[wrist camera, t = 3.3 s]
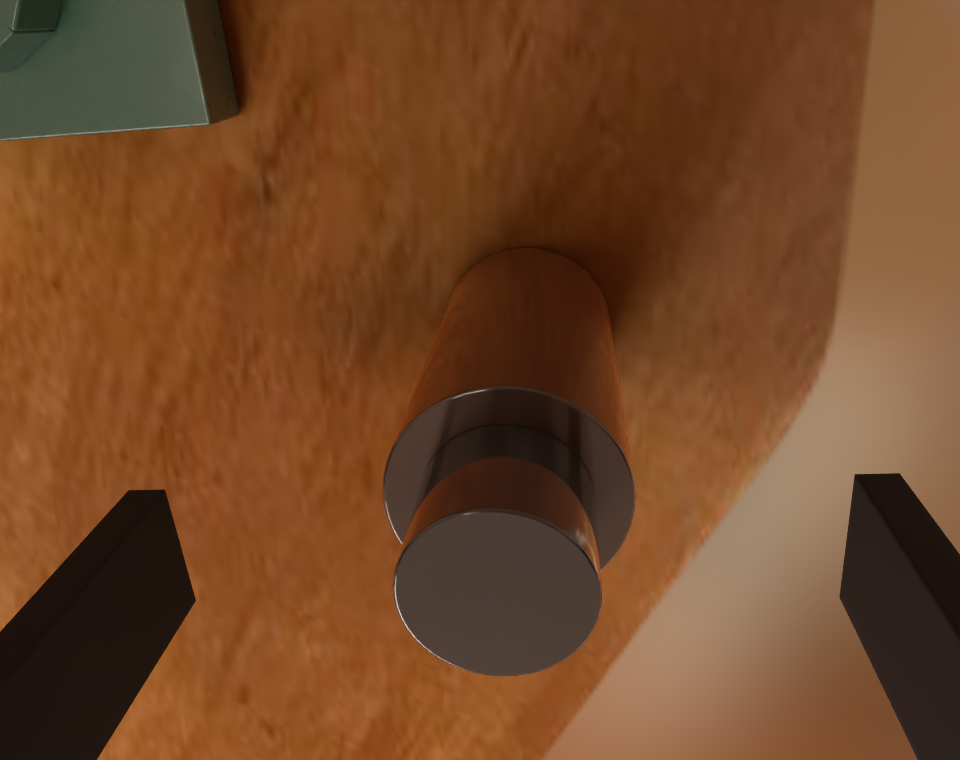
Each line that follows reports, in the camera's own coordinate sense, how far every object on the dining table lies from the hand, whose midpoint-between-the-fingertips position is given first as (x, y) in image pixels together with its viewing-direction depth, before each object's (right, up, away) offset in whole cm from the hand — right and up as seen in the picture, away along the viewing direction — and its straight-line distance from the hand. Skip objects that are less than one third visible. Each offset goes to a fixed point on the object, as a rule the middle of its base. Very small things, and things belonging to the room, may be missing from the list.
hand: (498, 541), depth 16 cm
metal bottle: (+1, +5, +10) cm, 11 cm away
